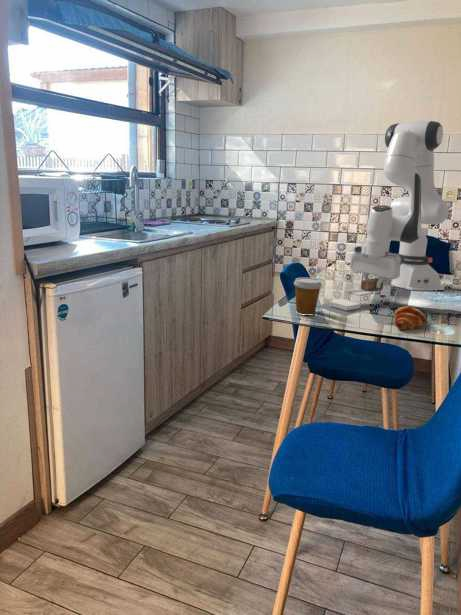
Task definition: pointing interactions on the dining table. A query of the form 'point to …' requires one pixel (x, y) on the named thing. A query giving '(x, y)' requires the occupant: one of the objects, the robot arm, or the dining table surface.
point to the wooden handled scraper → (366, 287)
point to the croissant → (409, 318)
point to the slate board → (344, 312)
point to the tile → (344, 304)
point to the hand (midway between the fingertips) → (372, 286)
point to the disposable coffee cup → (306, 294)
